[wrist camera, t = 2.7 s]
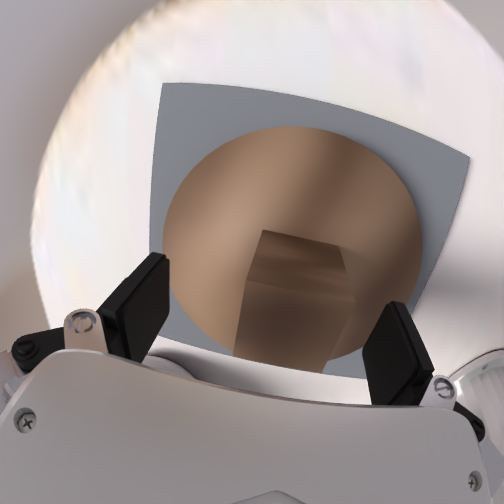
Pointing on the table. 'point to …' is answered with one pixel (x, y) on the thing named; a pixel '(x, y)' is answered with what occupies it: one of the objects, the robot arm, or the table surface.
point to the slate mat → (294, 115)
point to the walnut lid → (291, 245)
